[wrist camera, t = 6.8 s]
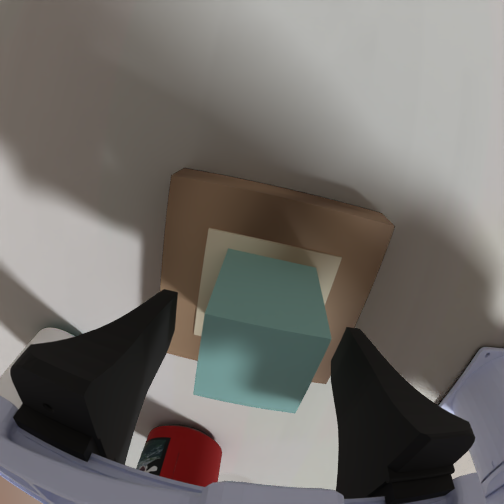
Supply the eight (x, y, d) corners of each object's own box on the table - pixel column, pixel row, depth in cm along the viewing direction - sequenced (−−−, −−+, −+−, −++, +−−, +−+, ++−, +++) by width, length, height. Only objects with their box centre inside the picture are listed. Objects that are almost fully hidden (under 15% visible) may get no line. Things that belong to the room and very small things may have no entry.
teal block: (316, 267, 14) (331, 338, 9) (292, 335, 16) (295, 413, 11) (228, 248, 14) (204, 313, 9) (215, 319, 16) (193, 394, 11)
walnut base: (381, 213, 15) (395, 227, 13) (323, 361, 19) (326, 385, 17) (184, 167, 15) (170, 175, 13) (167, 329, 19) (157, 351, 17)
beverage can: (145, 411, 23) (101, 531, 12) (225, 426, 23) (201, 559, 12) (155, 448, 26) (124, 547, 15) (222, 461, 25) (204, 567, 14)
